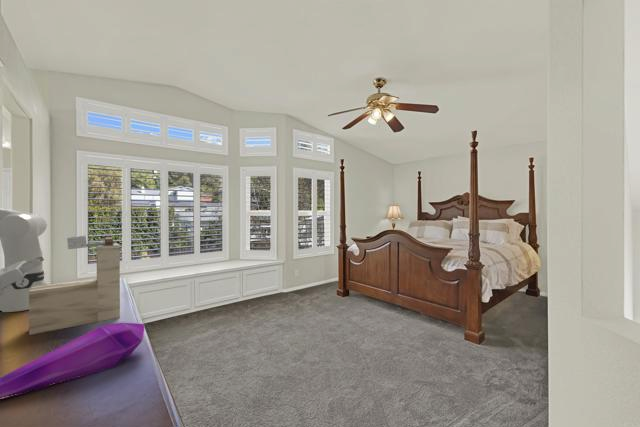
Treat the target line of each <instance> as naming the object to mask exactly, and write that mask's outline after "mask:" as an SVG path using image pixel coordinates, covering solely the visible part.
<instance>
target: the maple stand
mask: <svg viewBox="0 0 640 427" xmlns="http://www.w3.org/2000/svg"><path fill="white" fill-rule="evenodd" d="M113 241H114V239H113V237H108V236H107V237H104V242H106V245H100V246H96V279H89V280H88V279H87V280H80V281H78V280H77V281H70V282H63V283H55V284H54V283H53V284H48V285H44V286H36V287H31V289H30V290H29V309H28V324H29V325H28V335H36V334H41V333H45V332H51V331H52V332H53V331H58V330H62V329H66V328H72V327H77V326H82V325H88V324H93V323H97V322H103V321H108V320H113V319H118V318H120V317H121V291H120V290H121V282H120V281H121V278H120V277H121V273H120V272H121V271H120V270H121V268H120V267H121V264H120V263H121V262H120V251H121V250H120V248H121V247H120V246H121V244H119V243H114V244H113Z"/></svg>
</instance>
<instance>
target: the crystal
mask: <svg viewBox="0 0 640 427" xmlns="http://www.w3.org/2000/svg"><path fill="white" fill-rule="evenodd" d="M145 325H146V324H145V323H135V322H134V323H133V322H123V321H122V322H118V323H117V322H115V323H110V324H105V325H100V326H98V327H96V328H94V329H92V330H91V331H88V332H87V333H84V334H83V335H80V336H78V337H77V338H75V339H73V340H71V341H69V342H66V343H65V344H63V345H61V346H59V347H57V348H56V349H53V350H51V351H49V352H47V353H45V354H44V355H42V356H39V357H38V358H35V359H34V360H32V361H30V362H28V363H26V364H24V365H22V366H20V367H18V368H16V369H14V370H13V371H11V372H8V373H7V374H5V375H3V376H1V377H0V398H2V397H6V396H11V395H15V394H20V393H23V394H25V393H24V392H26V393H28V392H27V391H30V392H32V391H31V390H33V391H36V390H35V389H37V390H39V389H38V388H40V389H43V388H46V387H45V386H47V387H49V386H48V385H50V384H53V383H57V382H60V381H64V380H67V381H69V380H68V379H71V380H73V379H72V378H74V379H76V378H75V377H78V376H81V377H83V376H82V375H84V376H87V375H86V374H88V375H90V373H91V374H94V373H93V372H95V373H98V372H101V371H105V370H108V369H112V368H114V367H115V366H117V365H118V364H120V363H121V362H122V361H123V360H125V359H126V358H127V357H129V356H131V355H132V354H133V352H134V351H135V350H136V349H137V347H138V346H139V345H141V343H142V342H143V339H144V334H145V327H146V326H145ZM113 366H114V367H113ZM111 367H112V368H111ZM104 369H105V370H104ZM97 371H98V372H97ZM78 378H79V377H78ZM64 382H65V381H64ZM60 383H61V382H60ZM57 384H58V383H57ZM50 386H51V385H50ZM42 387H43V388H42ZM20 395H21V394H20Z"/></svg>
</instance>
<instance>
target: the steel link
mask: <svg viewBox="0 0 640 427" xmlns="http://www.w3.org/2000/svg"><path fill="white" fill-rule="evenodd" d="M66 240H67V249H68V250H73V249H83V248H89V247H90V248H91V247H97V246H100V245H106V242H105V241H101V242H99V241H98V242H91V243H89V242H88V243H87V236H86V235H77V236H76V235H75V236H67V238H66ZM113 244H115V241H114V240H113Z"/></svg>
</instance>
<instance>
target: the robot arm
mask: <svg viewBox="0 0 640 427" xmlns="http://www.w3.org/2000/svg"><path fill="white" fill-rule="evenodd" d="M47 225H48V224H47V221H46V220H45V218H44V217H42V216H41V215H39V214H36V213H31V212H28V211H27V212H25V211H20V210H13V209H6V208H0V243H1V244H0V245H1V247H2V251H3V255H4V257H3V258H4V260H3V261H4V267H3V268H0V310H1V311H2V312H1V313H14V312H22V311H27V310H28V311H29V290H30V289H31V287H36V286H44V285H49V283H47V282H46V281H45V271H44V269H43V266H44V265H43V262H44V260H45V258H44V257H43V251H42V249H41V245H40V240H39V236H41V235H42V234H43V233H44V232H45V231H46V229H47Z"/></svg>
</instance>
